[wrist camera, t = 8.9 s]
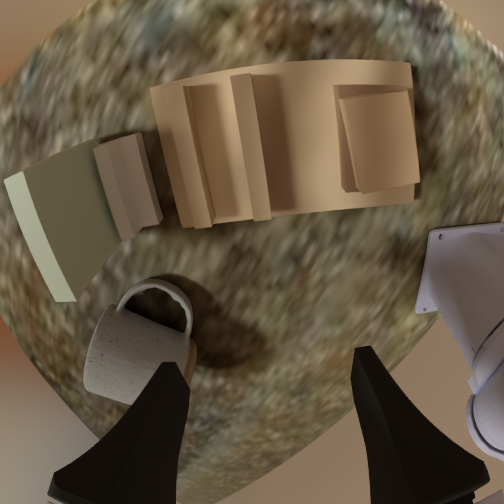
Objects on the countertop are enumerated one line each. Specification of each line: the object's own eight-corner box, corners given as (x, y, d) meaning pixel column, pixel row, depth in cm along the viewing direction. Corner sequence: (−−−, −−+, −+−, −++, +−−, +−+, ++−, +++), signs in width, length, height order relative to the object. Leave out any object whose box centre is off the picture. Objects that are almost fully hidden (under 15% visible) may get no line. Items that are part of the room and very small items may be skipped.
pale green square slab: (95, 138, 16) (22, 170, 10) (125, 236, 19) (76, 301, 13) (77, 144, 16) (3, 179, 10) (106, 239, 19) (56, 302, 13)
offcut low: (398, 85, 13) (407, 86, 12) (401, 181, 16) (409, 188, 15) (332, 85, 14) (337, 84, 13) (341, 186, 17) (345, 192, 16)
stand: (141, 131, 16) (124, 138, 14) (163, 218, 19) (151, 235, 17) (59, 158, 17) (38, 169, 15) (83, 232, 20) (67, 248, 18)
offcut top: (397, 90, 13) (407, 90, 12) (410, 175, 15) (419, 182, 14) (337, 99, 13) (344, 99, 12) (356, 187, 16) (362, 194, 15)
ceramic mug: (185, 369, 28) (171, 435, 21) (109, 340, 26) (81, 401, 20) (219, 293, 23) (204, 373, 16) (120, 256, 21) (74, 323, 15)
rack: (403, 63, 13) (422, 61, 11) (407, 197, 18) (423, 212, 16) (155, 87, 15) (139, 88, 13) (185, 221, 20) (176, 239, 17)
